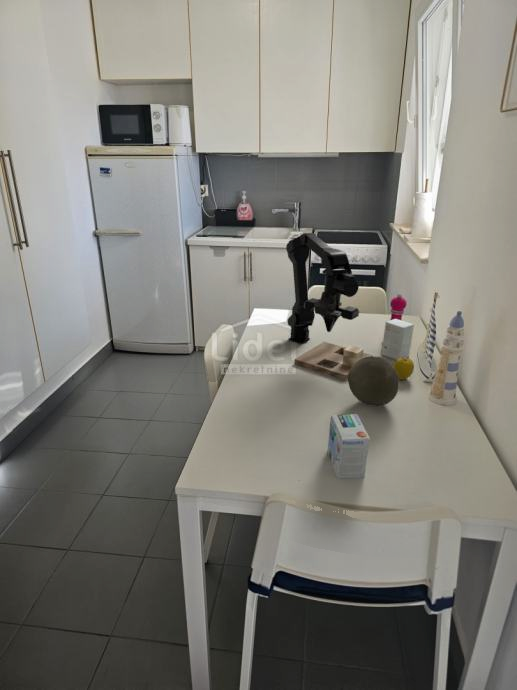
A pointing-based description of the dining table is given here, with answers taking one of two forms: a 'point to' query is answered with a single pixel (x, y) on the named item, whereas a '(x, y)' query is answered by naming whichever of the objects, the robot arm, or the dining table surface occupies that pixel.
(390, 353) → the small box
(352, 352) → the maple block
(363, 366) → the cantaloupe
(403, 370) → the apple
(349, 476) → the light bulb box
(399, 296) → the pepper mill
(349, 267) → the robot arm
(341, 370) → the trap board
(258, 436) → the dining table surface
